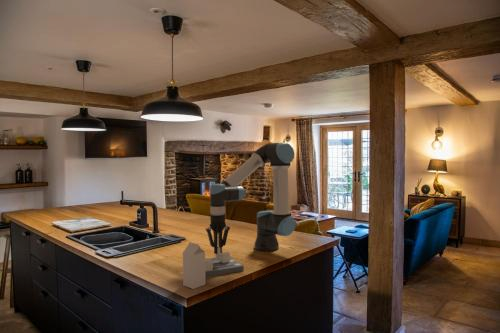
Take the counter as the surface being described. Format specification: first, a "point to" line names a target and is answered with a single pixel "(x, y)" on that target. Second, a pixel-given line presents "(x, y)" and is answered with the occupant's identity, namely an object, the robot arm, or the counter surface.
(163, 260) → the counter surface
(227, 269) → the breaker panel
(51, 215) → the counter surface
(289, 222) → the robot arm
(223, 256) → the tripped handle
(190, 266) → the milk carton
